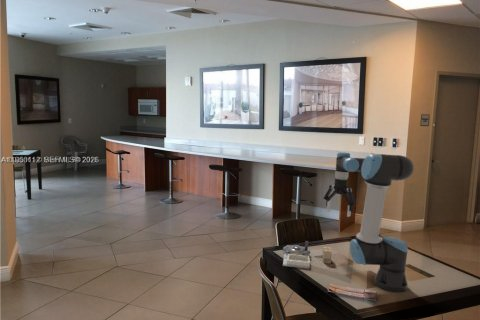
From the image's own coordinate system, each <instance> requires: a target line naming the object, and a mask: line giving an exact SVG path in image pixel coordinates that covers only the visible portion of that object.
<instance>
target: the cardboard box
mask: <svg viewBox="0 0 480 320" xmlns="http://www.w3.org/2000/svg"><path fill="white" fill-rule="evenodd" d="M332 253H333V251H332V248H331V247H329V246H323V251H322V262H323V264H329V265H331V264H332V255H333V254H332Z"/></svg>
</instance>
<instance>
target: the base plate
mask: <svg viewBox="0 0 480 320" xmlns="http://www.w3.org/2000/svg"><path fill="white" fill-rule="evenodd" d="M284 247H285V248H286V246H284ZM282 267H289V268H290V267H291V268H299V269H300V268H301V269H306V270H307V269H308V270H310V267H311V261H310V256H309V254H307V256H304V255H295V254H286V252H285V251H283V262H282Z"/></svg>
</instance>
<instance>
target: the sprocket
mask: <svg viewBox="0 0 480 320" xmlns="http://www.w3.org/2000/svg"><path fill="white" fill-rule="evenodd" d="M304 243H305V245H304V246H301V245H298V244H292V245H289V244H287V245H286V248H285V246H284V247H282V251H283V252H284V251H285V252H286V254H295V255H304V256H307V254H311V250H309V241H308V240H305V242H304Z"/></svg>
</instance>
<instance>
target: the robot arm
mask: <svg viewBox="0 0 480 320" xmlns="http://www.w3.org/2000/svg"><path fill="white" fill-rule="evenodd" d="M335 159H336V161H335V171H334V172H335V173H334V177H335V178H334V185H333V184H330V185H329V187H328V190H327V191H326V193H325V195H324V197H323V200H325V201H326V202H325V206H326V212H327V213H329V212H331V207H332V200H331V199H333V198H334V197H335V195H336V194H337V195H341V196H343V197H344V198H345V200H346V202H347V204H348V205H347V213H346V217H347V218H349V217H351V214H352V212H353V207H354V206H356V205H357V203H356V199H355V196H354V193H353V188H352V187H351V188H348V185H349V184H348V183H349V180H348V179H349V172H351V173H353V172H361V177H362V178H363V179H364V182H365V185H366V193H365V197H364V198H365V199H364V206H363V211H362V212H363V213H362V219H361V225H360V231H359V232H357V233H356V235H355V238H354V239H351V240H350V242H349V243H350V244H349V250H350V255H351V258H352V261H353V262H354V263H355V264H357V265H364V266H366V265H367V266H368V265H369V266H371V265H372V266H373V265H374V266H379V268H378V270H377V272H376V274H375V277H374V281H373V282H374V285H375V286H377V287H379V288H380V289H382V290H385V291H389V292H396V293H402V292H406V291H408V280H407V275H406V267H407V259H408V258H407V257H408V254H409V253H408V243H407V242H406V241H405V240H404V241H403V240H401V239H399V238H396V237H392V236H383V237H380V231H381V225H382V219H383V214H384V207H385V203H386V200H385V199H386V195H387V190H388V188H389V187H391V185H392V181H404V180H406V179H409V178H410V177H411V176H412V175H413V174H414V172H415V165H414V163H413V161H412V160H411V159H410V158H408V157H407V156H404V155H401V154H400V155H398V154H384V153H370V154H367V155H366V156H365V157H364V158H361V157H351V153H349V152H344V151H343V152H341V151H339V152H337V154H336V158H335Z"/></svg>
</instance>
